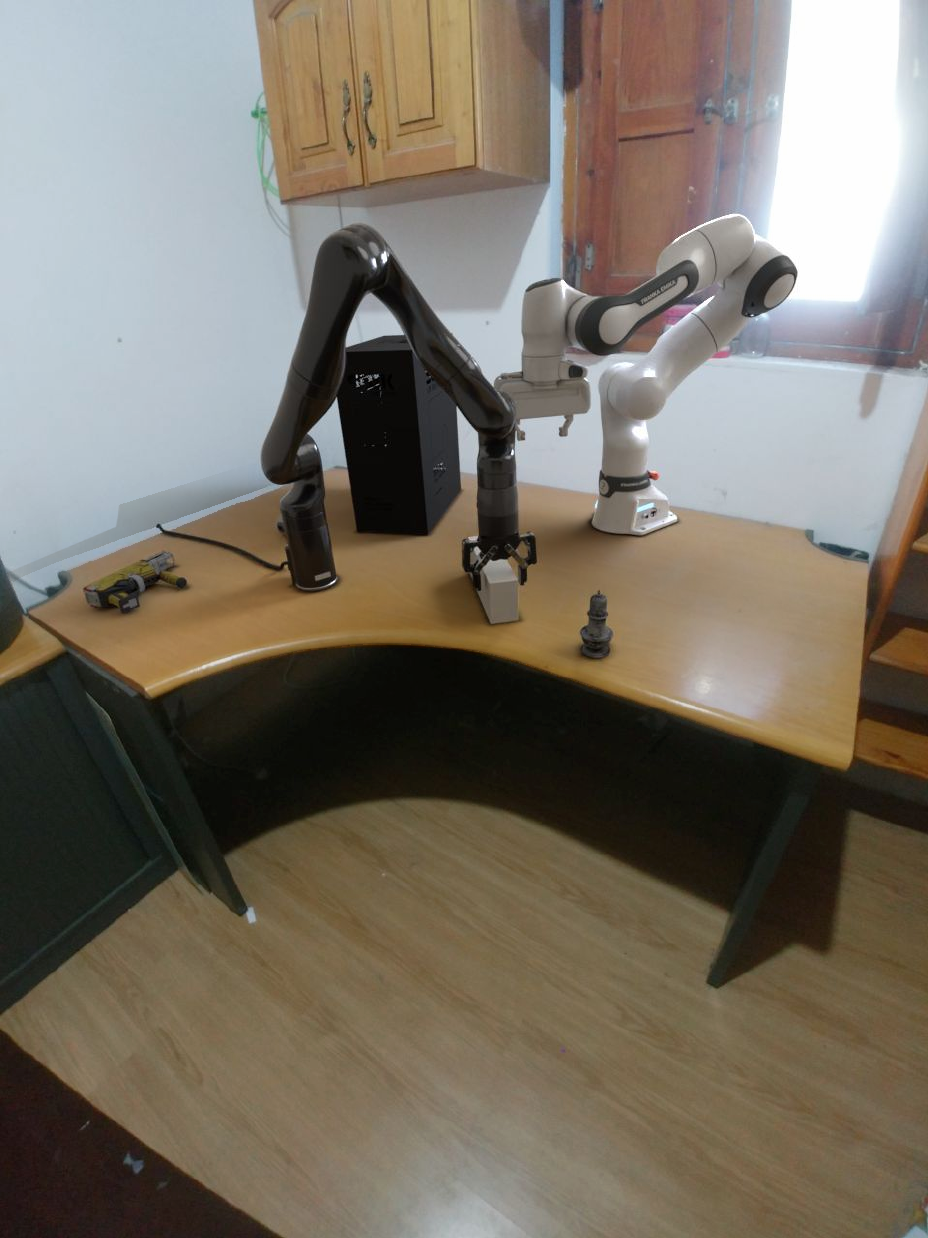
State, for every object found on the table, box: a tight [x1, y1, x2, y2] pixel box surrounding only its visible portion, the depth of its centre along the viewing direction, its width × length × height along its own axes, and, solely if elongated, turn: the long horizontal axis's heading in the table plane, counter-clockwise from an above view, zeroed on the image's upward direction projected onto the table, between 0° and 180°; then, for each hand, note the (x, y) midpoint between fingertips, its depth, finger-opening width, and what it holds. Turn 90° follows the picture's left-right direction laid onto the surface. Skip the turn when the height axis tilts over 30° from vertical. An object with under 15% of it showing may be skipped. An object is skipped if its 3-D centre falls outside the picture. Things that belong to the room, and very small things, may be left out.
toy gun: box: [82, 550, 188, 615], centre depth 138 cm, size 5×24×15 cm
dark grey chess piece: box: [579, 589, 614, 659], centre depth 105 cm, size 6×6×12 cm
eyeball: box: [275, 513, 286, 535], centre depth 163 cm, size 6×6×6 cm
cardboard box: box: [336, 332, 462, 536], centre depth 166 cm, size 38×20×45 cm, turn 167°
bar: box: [467, 535, 520, 625], centre depth 126 cm, size 24×6×9 cm, turn 10°
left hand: (500, 586), depth 118 cm, fingers open, 8 cm apart
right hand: (542, 438), depth 131 cm, fingers open, 8 cm apart
